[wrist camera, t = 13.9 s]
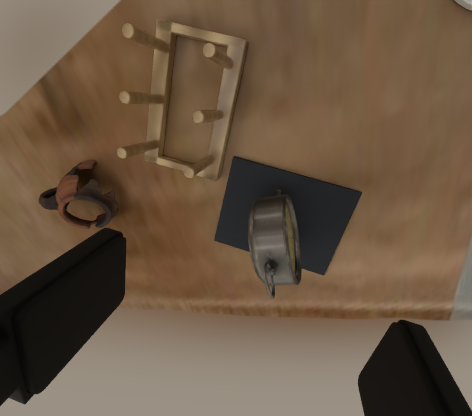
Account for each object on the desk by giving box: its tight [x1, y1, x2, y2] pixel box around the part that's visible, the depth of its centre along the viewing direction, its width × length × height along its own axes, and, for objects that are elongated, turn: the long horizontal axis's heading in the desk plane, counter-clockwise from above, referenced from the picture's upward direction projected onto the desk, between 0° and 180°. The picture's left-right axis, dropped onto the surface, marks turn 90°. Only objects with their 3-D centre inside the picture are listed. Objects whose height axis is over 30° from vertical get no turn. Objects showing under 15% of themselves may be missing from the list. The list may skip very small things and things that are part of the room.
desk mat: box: [214, 156, 362, 275], centre depth 38 cm, size 18×14×1 cm
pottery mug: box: [39, 161, 119, 228], centre depth 41 cm, size 12×10×8 cm
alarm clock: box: [248, 189, 301, 298], centre depth 31 cm, size 11×5×16 cm, turn 14°
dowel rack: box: [117, 19, 248, 181], centre depth 31 cm, size 11×18×10 cm, turn 167°
